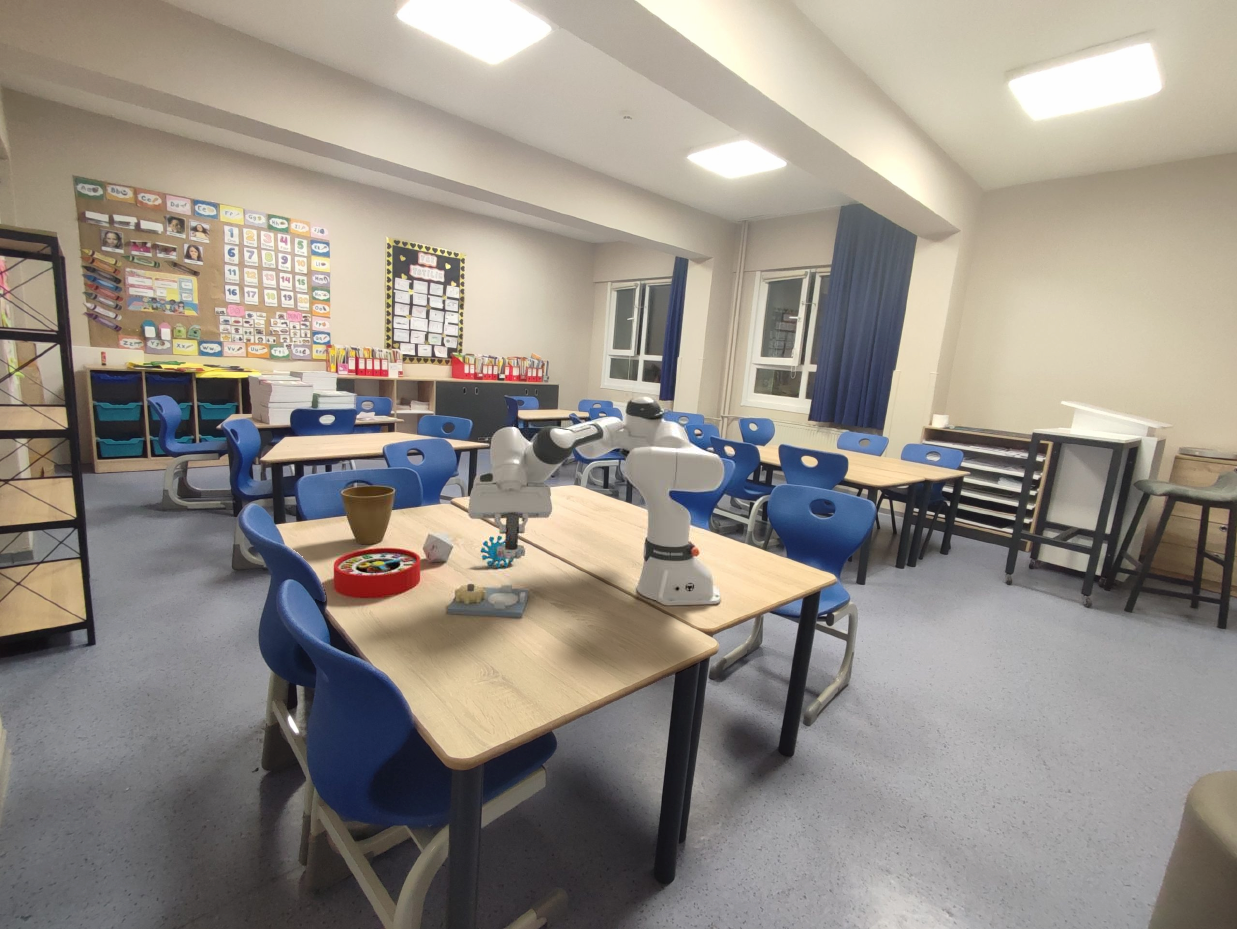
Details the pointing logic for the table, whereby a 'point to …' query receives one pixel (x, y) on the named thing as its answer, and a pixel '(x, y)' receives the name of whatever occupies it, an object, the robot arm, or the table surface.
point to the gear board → (489, 601)
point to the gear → (511, 539)
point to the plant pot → (368, 511)
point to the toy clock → (376, 572)
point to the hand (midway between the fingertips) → (512, 532)
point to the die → (437, 547)
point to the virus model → (494, 552)
